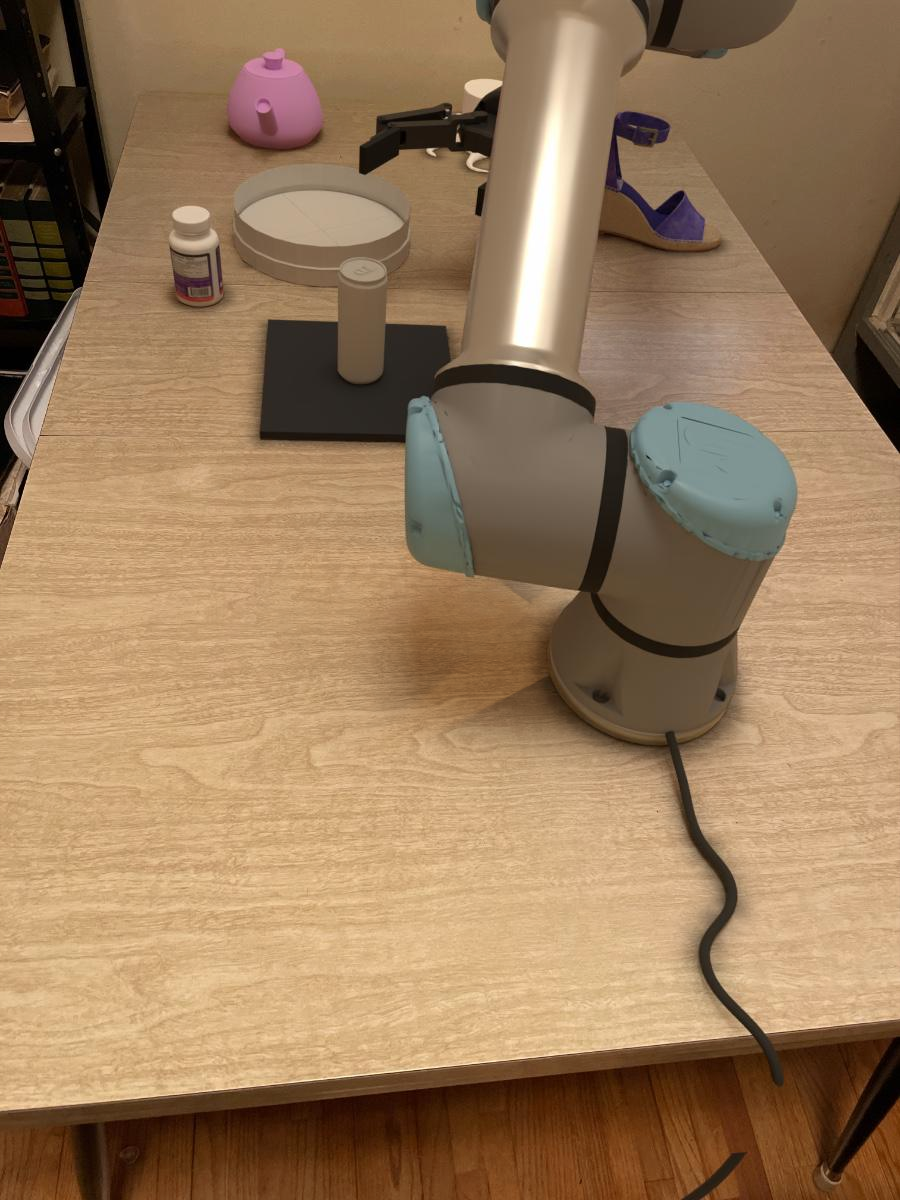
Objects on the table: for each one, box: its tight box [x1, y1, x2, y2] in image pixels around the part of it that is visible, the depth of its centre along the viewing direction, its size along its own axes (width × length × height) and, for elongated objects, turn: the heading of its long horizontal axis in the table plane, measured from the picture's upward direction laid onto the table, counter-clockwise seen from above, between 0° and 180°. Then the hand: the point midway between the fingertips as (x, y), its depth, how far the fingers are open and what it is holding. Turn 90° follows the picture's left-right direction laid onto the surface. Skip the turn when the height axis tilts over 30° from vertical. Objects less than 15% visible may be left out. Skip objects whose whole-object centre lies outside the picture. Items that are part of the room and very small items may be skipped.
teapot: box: [226, 47, 324, 150], centre depth 138 cm, size 14×20×11 cm
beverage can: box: [337, 257, 389, 384], centre depth 97 cm, size 5×5×12 cm
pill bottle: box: [168, 205, 224, 308], centre depth 107 cm, size 5×5×10 cm
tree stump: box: [426, 78, 503, 174], centre depth 143 cm, size 20×19×8 cm
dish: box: [232, 163, 412, 288], centre depth 120 cm, size 22×22×5 cm
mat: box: [259, 318, 452, 443], centre depth 102 cm, size 20×20×1 cm
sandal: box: [598, 110, 723, 253], centre depth 126 cm, size 8×20×15 cm, turn 78°
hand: (419, 181), depth 95 cm, fingers open, 13 cm apart
